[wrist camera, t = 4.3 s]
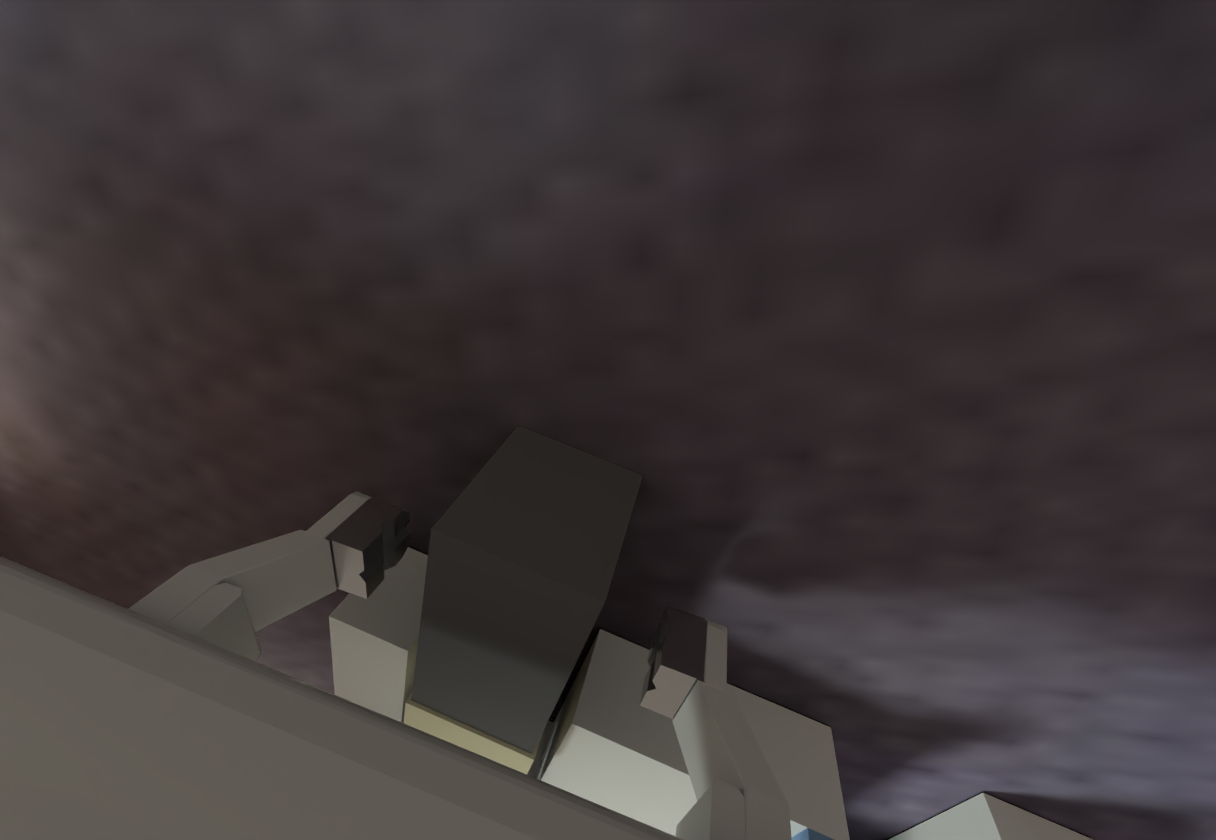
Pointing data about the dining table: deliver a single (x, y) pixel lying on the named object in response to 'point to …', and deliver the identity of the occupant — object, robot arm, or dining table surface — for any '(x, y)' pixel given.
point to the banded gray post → (515, 593)
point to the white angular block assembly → (635, 730)
